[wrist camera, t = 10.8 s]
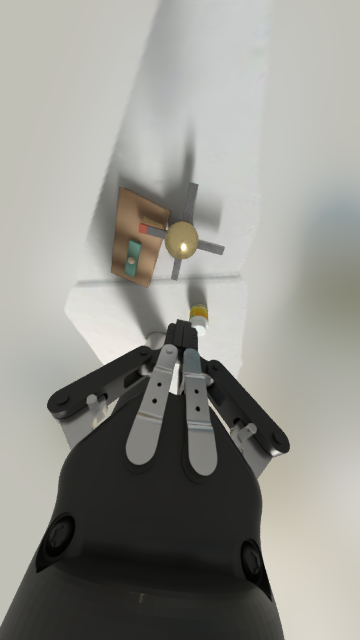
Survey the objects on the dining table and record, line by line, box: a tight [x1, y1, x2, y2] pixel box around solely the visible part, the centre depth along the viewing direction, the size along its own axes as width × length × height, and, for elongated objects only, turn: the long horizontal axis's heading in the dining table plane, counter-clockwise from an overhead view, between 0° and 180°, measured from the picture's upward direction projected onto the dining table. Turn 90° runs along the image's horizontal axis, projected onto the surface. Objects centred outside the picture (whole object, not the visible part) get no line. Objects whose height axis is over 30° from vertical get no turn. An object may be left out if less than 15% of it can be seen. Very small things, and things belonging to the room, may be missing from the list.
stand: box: [111, 187, 171, 287], centre depth 34 cm, size 18×10×5 cm, turn 158°
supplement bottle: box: [189, 304, 208, 337], centre depth 42 cm, size 5×5×10 cm
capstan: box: [138, 182, 224, 281], centre depth 31 cm, size 17×17×7 cm
